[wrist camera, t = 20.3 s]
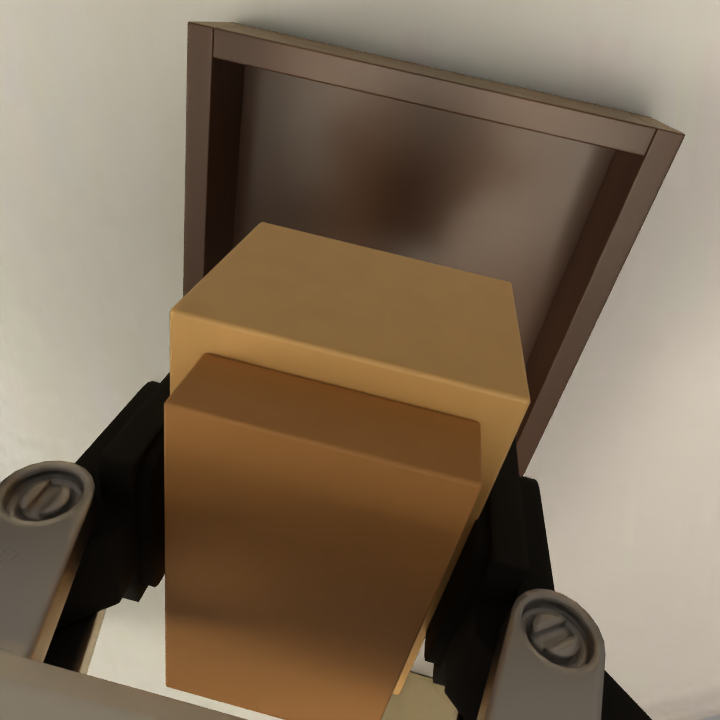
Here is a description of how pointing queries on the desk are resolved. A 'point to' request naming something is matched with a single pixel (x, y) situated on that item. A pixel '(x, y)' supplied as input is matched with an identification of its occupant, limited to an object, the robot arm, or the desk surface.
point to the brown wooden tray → (421, 178)
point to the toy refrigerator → (419, 701)
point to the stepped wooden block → (326, 466)
